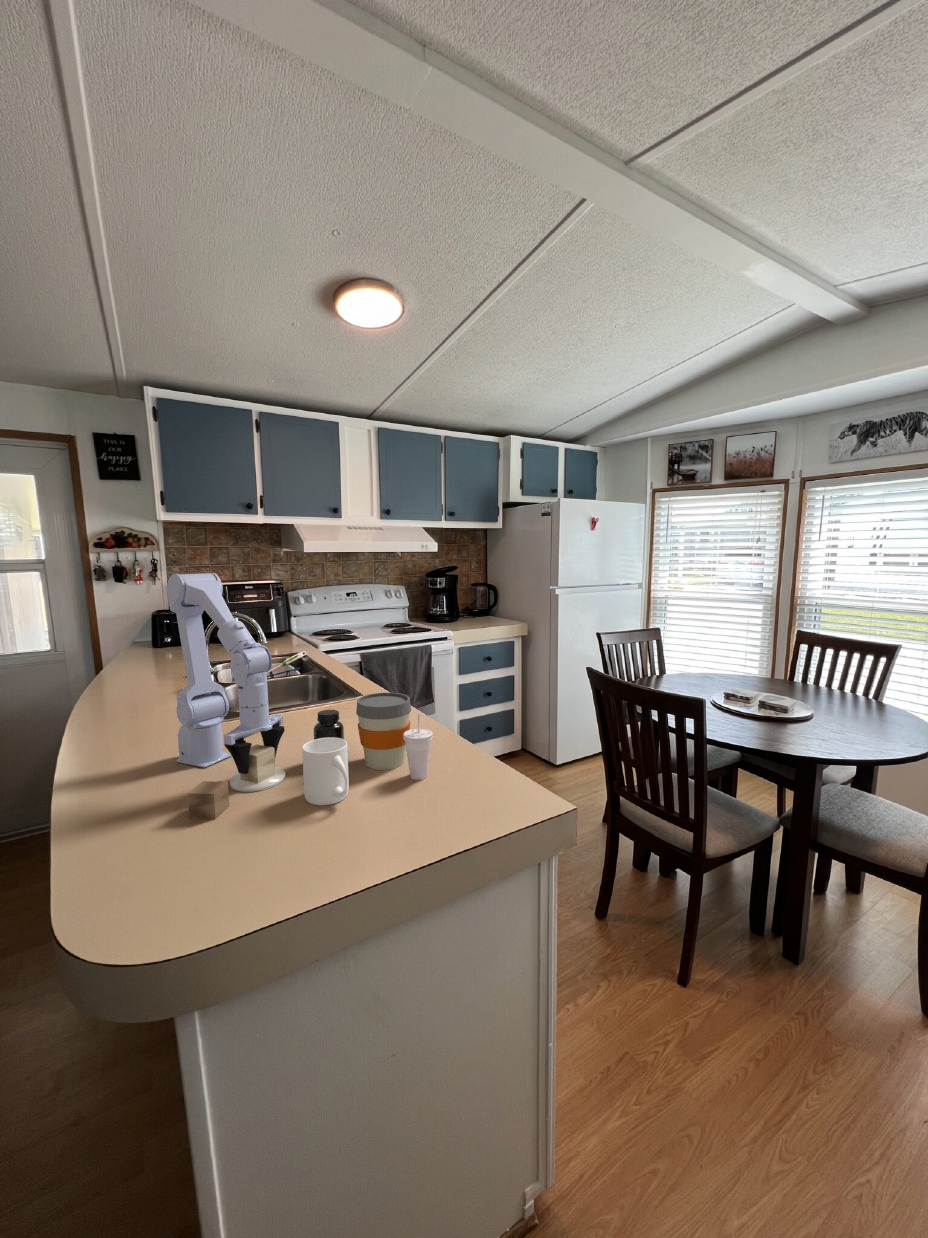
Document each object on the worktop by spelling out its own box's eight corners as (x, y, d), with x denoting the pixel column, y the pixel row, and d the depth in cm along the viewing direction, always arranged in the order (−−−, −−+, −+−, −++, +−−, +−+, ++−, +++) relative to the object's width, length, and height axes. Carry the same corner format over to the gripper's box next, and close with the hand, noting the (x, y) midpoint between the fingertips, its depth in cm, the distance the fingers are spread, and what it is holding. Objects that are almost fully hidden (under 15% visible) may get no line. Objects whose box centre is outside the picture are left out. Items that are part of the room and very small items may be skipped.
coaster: (218, 786, 107) (217, 783, 107) (258, 766, 117) (258, 763, 117) (258, 796, 103) (258, 792, 103) (296, 774, 113) (296, 771, 113)
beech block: (240, 779, 108) (238, 752, 108) (258, 770, 113) (256, 744, 112) (258, 783, 106) (256, 756, 106) (275, 774, 111) (274, 747, 110)
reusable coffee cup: (401, 748, 128) (400, 689, 126) (420, 766, 117) (419, 702, 115) (351, 757, 122) (349, 696, 120) (366, 777, 111) (364, 710, 109)
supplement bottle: (336, 769, 115) (334, 717, 114) (309, 766, 117) (306, 716, 115) (349, 757, 122) (347, 708, 121) (323, 755, 124) (321, 707, 122)
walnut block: (189, 819, 94) (187, 793, 93) (204, 806, 99) (202, 781, 98) (215, 819, 94) (213, 793, 93) (229, 806, 99) (227, 781, 98)
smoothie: (438, 773, 113) (437, 711, 111) (424, 784, 107) (423, 720, 105) (413, 768, 116) (412, 708, 114) (398, 779, 110) (396, 716, 108)
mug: (326, 818, 94) (324, 762, 93) (296, 796, 102) (294, 744, 101) (366, 802, 100) (365, 749, 98) (335, 783, 108) (333, 734, 107)
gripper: (240, 716, 100) (244, 782, 101) (292, 697, 113) (295, 756, 115) (214, 712, 102) (218, 777, 104) (268, 694, 116) (271, 752, 117)
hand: (257, 766), depth 109 cm, fingers open, 7 cm apart
